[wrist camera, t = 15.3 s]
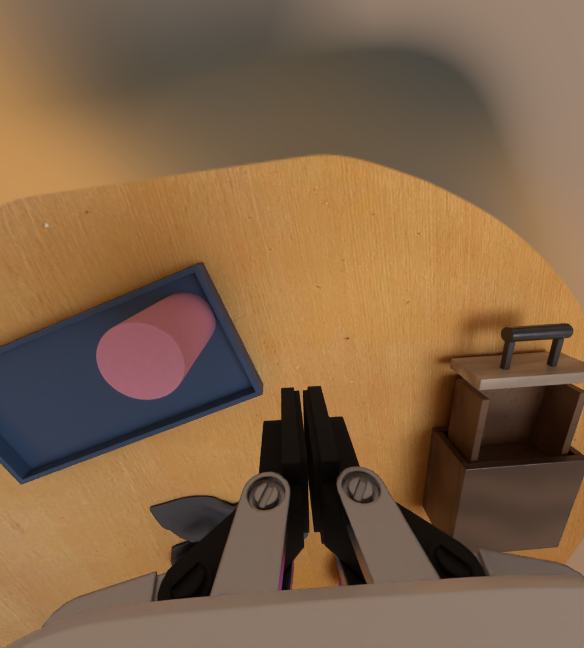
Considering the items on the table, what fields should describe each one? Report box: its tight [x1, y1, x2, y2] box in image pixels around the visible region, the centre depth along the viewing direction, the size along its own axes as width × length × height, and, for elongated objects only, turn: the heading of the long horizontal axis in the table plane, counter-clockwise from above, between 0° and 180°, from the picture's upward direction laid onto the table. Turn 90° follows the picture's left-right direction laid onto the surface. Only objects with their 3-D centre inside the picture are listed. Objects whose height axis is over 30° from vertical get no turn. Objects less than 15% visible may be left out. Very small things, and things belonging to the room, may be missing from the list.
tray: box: [0, 262, 263, 484], centre depth 30 cm, size 31×15×2 cm, turn 112°
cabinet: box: [422, 427, 584, 552], centre depth 34 cm, size 14×14×7 cm
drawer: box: [447, 323, 584, 463], centre depth 30 cm, size 17×12×5 cm
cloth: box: [150, 496, 308, 566], centre depth 37 cm, size 22×19×6 cm
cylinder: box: [96, 292, 216, 400], centre depth 24 cm, size 6×6×10 cm
